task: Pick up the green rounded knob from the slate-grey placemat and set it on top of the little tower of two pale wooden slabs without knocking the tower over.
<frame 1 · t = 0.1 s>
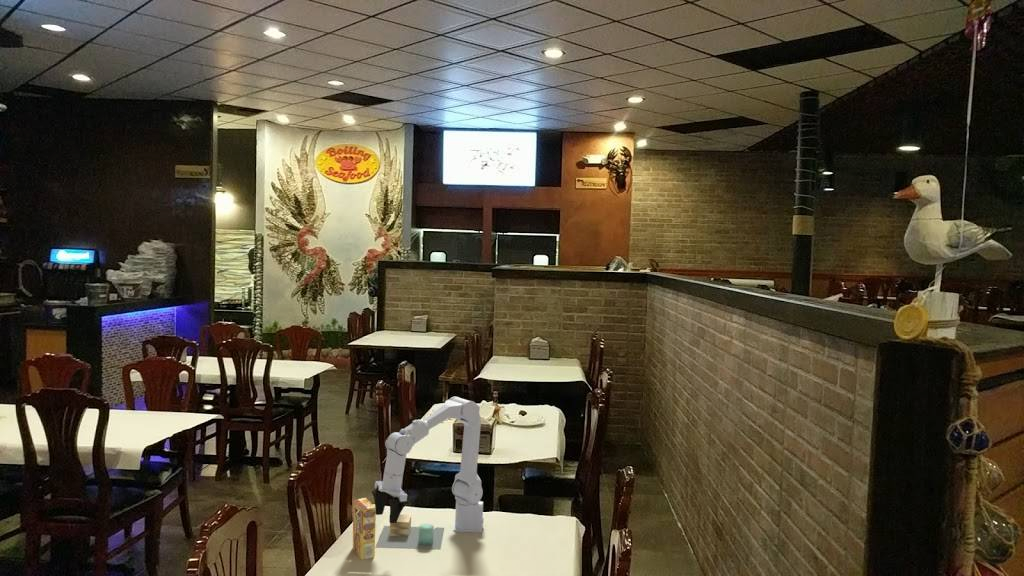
hand: (385, 518, 192), 10 cm above the table, tool pointing down, fingers open, 7 cm apart
birch slab low: (400, 532, 206), resting on slate mat, touching oak slab top
candy box: (363, 554, 191), on the table
green rounded knob: (425, 542, 200), resting on slate mat
oak slab top: (400, 525, 206), point 3 cm above the table, touching birch slab low
slate mat: (411, 538, 203), on the table
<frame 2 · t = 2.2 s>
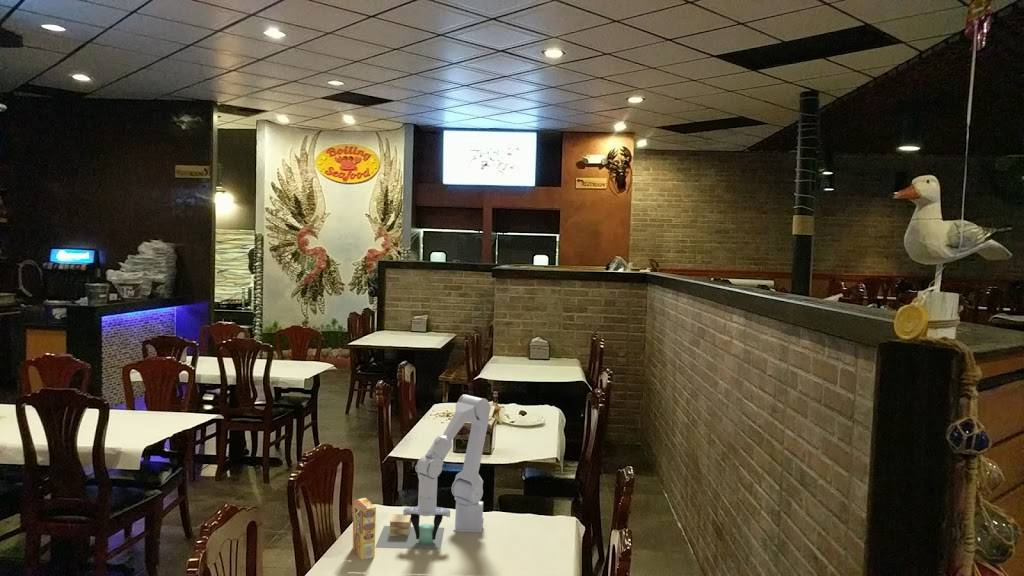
hand: (425, 538, 200), 2 cm above the table, tool pointing down, fingers closed on green rounded knob, 5 cm apart
green rounded knob: (425, 542, 200), resting on slate mat, touching gripper
everything else where it was.
when the fingers open (7 cm above the table, at t = 5.1 s): green rounded knob stays where it is, resting on oak slab top.
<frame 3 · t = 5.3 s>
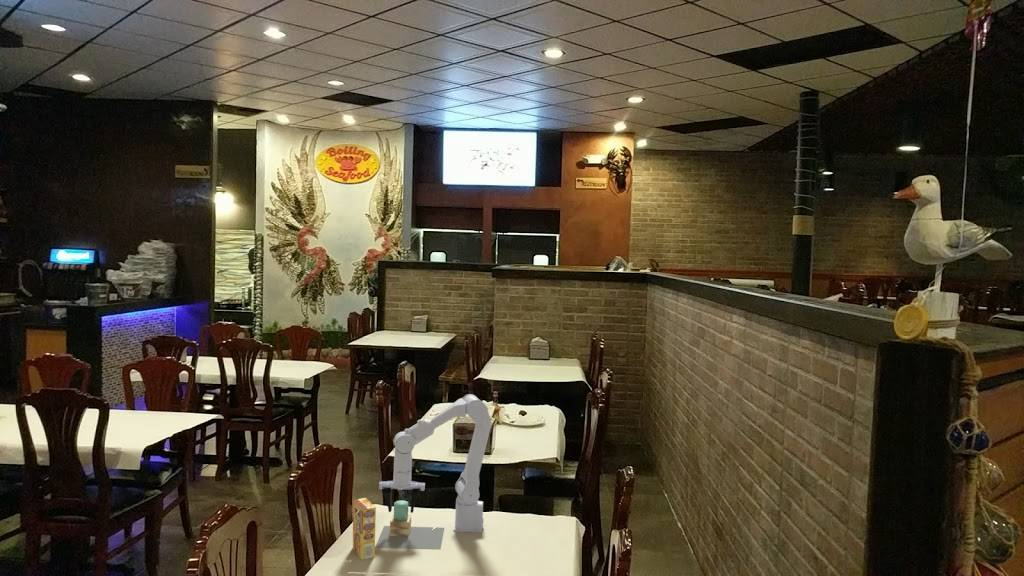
hand: (401, 511, 206), 7 cm above the table, tool pointing down, fingers open, 6 cm apart
green rounded knob: (400, 518, 206), point 5 cm above the table, touching oak slab top
oak slab top: (400, 525, 206), point 3 cm above the table, touching birch slab low, green rounded knob
everything else where it was.
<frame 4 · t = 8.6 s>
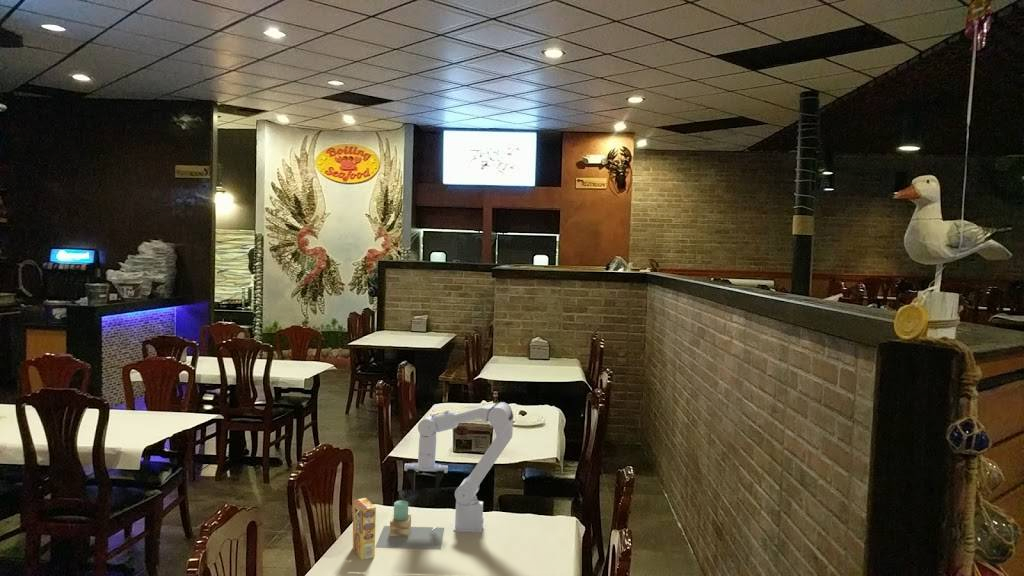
hand: (424, 492, 215), 10 cm above the table, tool pointing down, fingers open, 7 cm apart
nothing on the table moved.
at the end: green rounded knob 0.1 cm off-centre on the oak slab top, point 2.3 cm above the oak slab top's base; oak slab top point 2.6 cm above the table; green rounded knob tilted 0° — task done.
